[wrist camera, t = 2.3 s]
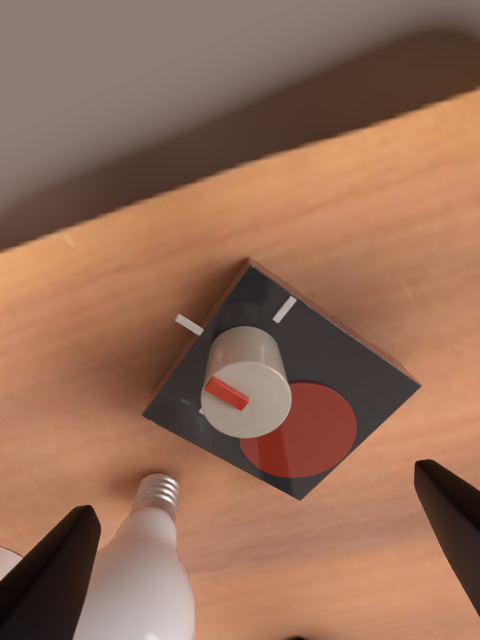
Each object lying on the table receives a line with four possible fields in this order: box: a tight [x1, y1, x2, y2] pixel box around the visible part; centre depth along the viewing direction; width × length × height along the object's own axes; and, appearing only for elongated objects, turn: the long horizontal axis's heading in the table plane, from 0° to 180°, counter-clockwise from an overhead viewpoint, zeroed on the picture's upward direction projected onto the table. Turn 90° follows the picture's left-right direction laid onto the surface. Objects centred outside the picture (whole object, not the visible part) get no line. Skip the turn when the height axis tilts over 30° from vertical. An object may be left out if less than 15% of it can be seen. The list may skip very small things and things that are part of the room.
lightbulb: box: [73, 474, 196, 640], centre depth 16 cm, size 6×6×11 cm
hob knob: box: [201, 326, 292, 438], centre depth 14 cm, size 4×4×4 cm
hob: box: [142, 257, 422, 501], centre depth 18 cm, size 10×12×2 cm
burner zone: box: [239, 381, 357, 478], centre depth 18 cm, size 6×6×1 cm
